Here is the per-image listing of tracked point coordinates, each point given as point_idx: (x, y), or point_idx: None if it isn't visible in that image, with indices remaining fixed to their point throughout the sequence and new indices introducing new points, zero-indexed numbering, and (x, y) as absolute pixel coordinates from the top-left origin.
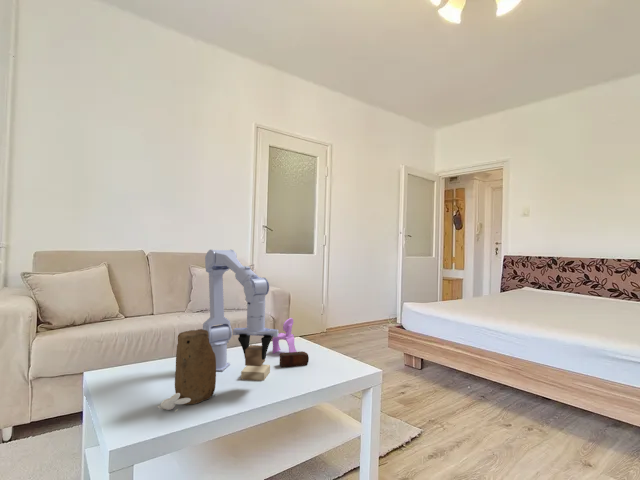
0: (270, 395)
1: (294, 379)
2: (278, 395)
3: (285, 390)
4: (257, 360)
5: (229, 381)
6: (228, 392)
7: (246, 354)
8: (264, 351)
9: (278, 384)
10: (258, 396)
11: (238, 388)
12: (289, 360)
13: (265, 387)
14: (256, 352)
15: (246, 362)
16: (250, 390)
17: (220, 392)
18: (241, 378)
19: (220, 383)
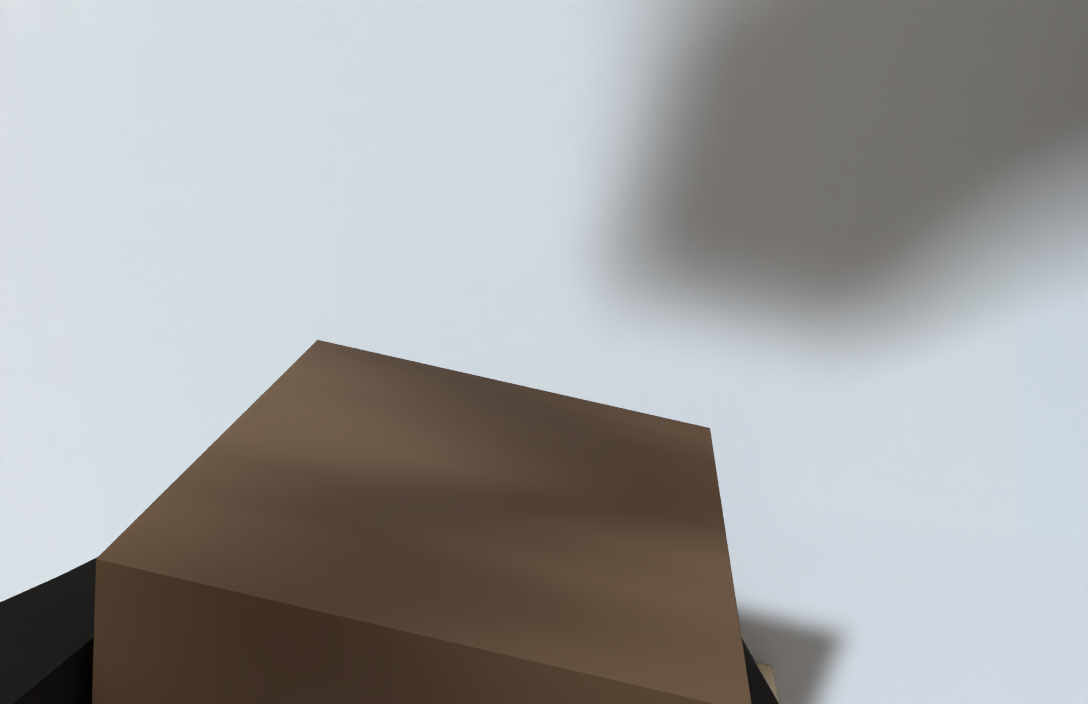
0: (268, 46)
1: (34, 576)
2: (148, 38)
3: (81, 218)
4: (355, 412)
5: (941, 611)
6: (941, 211)
7: (691, 582)
8: (35, 595)
9: (217, 436)
10: (447, 18)
11: (789, 350)
12: None
13: (386, 350)
14: (308, 543)
15: (678, 454)
16: (597, 260)
17: (1074, 221)
18: (767, 672)
19: (1079, 556)
